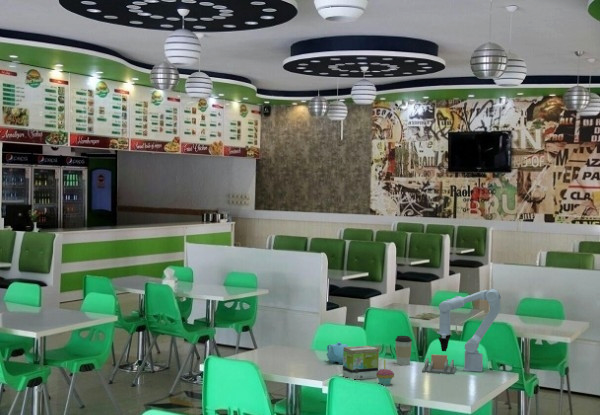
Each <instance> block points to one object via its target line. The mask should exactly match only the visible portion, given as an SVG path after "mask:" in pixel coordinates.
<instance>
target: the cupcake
mask: <svg viewBox="0 0 600 415" xmlns="http://www.w3.org/2000/svg"><path fill="white" fill-rule="evenodd" d="M386 364H387V363H386V358H384V360H383V368H382V369H381V368H380V369H378V372H377V374H376V376H377V377H378V378H377V379H378V382H379V385H381V384H383V385H382V386H390V385H391V382H392V379H393V378H394V377H395V373H394V372H393V370H391V369H387V366H386Z"/></svg>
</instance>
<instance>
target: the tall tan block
mask: <svg viewBox="0 0 600 415" xmlns="http://www.w3.org/2000/svg"><path fill="white" fill-rule="evenodd" d="M430 355H431V356H430V357H431V358H430V359H431V361H433V369H444V363H445V362H447V359H448V355H447V354H435V353H434V354H430Z"/></svg>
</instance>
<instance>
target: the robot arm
mask: <svg viewBox="0 0 600 415" xmlns="http://www.w3.org/2000/svg"><path fill="white" fill-rule="evenodd" d="M478 300H482V301H485V300H486V301H487V303H488V304H489V308H490V310H489V312H487V315H486V316H485V317H484V319H482V320H483V321H481V324H480V325H479V327H478V328H477V330H476V331H475V332H474V334H473V335H472V337H470V338H469V339H468V340H467V341H466V342H465V344H464V350H465V351H464V366H463V368H462V369H463V371H465V372H466V371H467V372H479V373H480V372H481V373H482V372H483V369H484V364H483V360H484V359H483V358H484V356H483V355H484V353H480V352H479V350H478V348H479V347H480V342H481V341H482V339H483V338H484V336H485V335H486V333H487V331H488V330H489V329H490V327H491V326H492V324H493V322H494V321H495V320H496V319H497V317H498V315H499V314H500V313H501V311H502V309H501V306H502V305H501V304H502V303H501V294H500V293H499V291H498V290H497V289H496V288H490V289H485V290H481V291H477V292H475V293H471V294H469V295H467V296H461V295H459V296H458V295H455V296H454V297H453V298H451V299H449V298H447V299H446V300H443V301H442V302H440V303H439V305H438V309H439V321H438V322H439V325H438V326H439V330H438V331H436V334H438V335H439V337H438V338H437V339H438V341H439V343H440V349H441V352H447V349H448V346H449V341H450V338H451V334H452V332H451V311H454V310H457V309H460V308H463V307H465V304H467V303H470V302H475V301H478Z"/></svg>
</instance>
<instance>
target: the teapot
mask: <svg viewBox="0 0 600 415" xmlns="http://www.w3.org/2000/svg"><path fill="white" fill-rule="evenodd" d="M344 347H349V346H348V344H347V343H344V344H343V343H342V342H341V341H338V342H336V343H333V344H332V343H331V344H328V345H327V346H326V349H327V353H326V357H327V360H329V362H331V363H330V364H334V363H336V362H337V363H338V365H343V349H344Z"/></svg>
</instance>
